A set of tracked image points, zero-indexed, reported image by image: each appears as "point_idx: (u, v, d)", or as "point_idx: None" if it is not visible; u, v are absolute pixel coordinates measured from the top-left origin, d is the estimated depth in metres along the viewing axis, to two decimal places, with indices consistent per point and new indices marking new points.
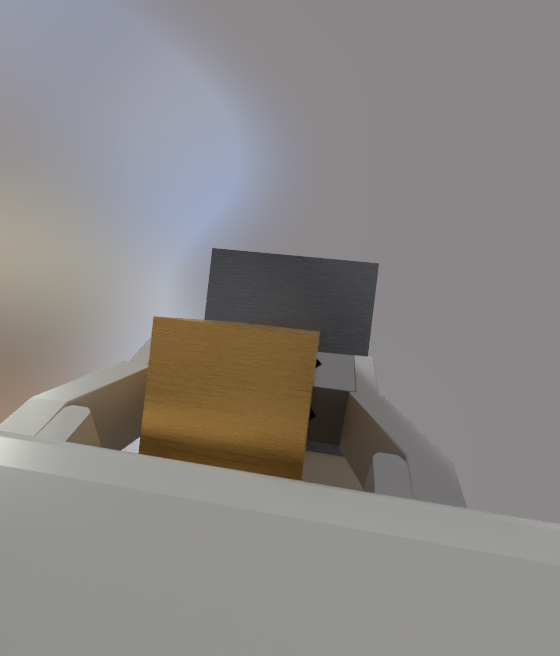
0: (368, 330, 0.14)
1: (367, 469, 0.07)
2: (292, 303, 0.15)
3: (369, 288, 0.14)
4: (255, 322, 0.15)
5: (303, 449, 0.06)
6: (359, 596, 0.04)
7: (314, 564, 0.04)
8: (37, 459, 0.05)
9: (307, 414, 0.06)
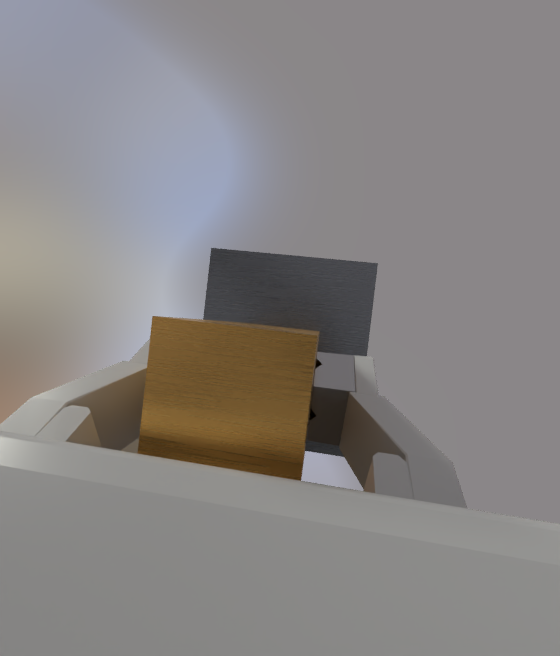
0: (367, 330, 0.14)
1: (367, 469, 0.07)
2: (291, 303, 0.15)
3: (368, 288, 0.14)
4: (254, 322, 0.15)
5: (302, 449, 0.06)
6: (359, 596, 0.04)
7: (314, 564, 0.04)
8: (37, 459, 0.05)
9: (306, 414, 0.06)
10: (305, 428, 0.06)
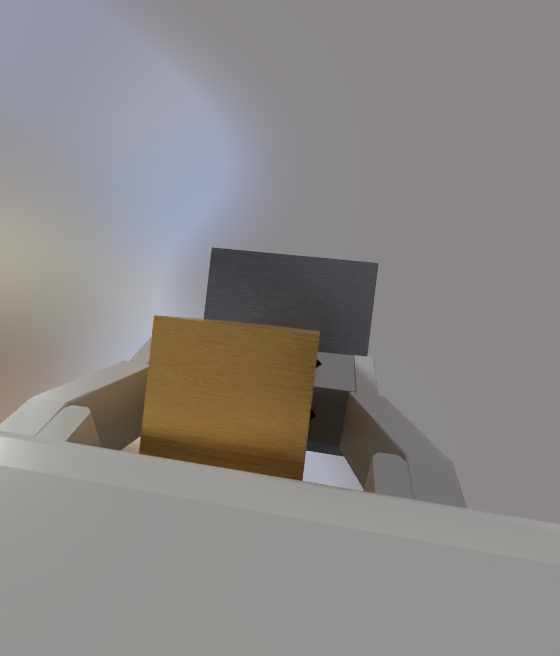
0: (367, 330, 0.14)
1: (367, 469, 0.07)
2: (292, 303, 0.15)
3: (368, 288, 0.14)
4: (254, 322, 0.15)
5: (304, 448, 0.06)
6: (359, 596, 0.04)
7: (314, 564, 0.04)
8: (37, 459, 0.05)
9: (308, 413, 0.06)
10: (307, 427, 0.06)
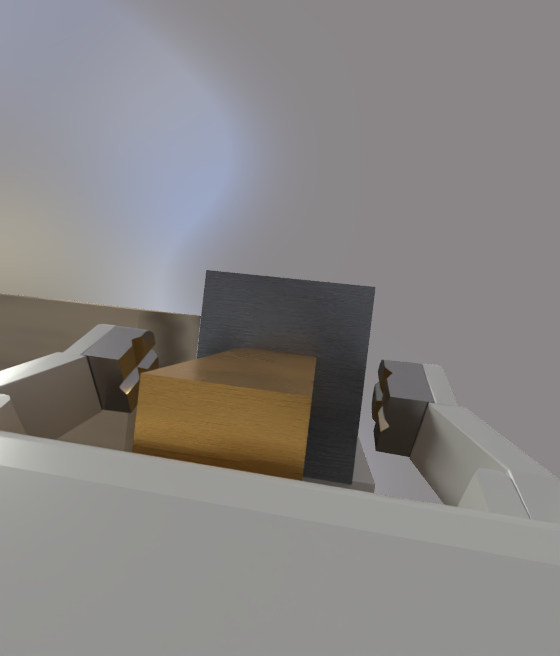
0: (364, 355, 0.14)
1: (450, 482, 0.07)
2: (288, 327, 0.14)
3: (365, 312, 0.14)
4: (250, 346, 0.15)
5: None
6: (359, 596, 0.04)
7: (314, 564, 0.04)
8: (37, 459, 0.05)
9: (300, 478, 0.06)
10: None
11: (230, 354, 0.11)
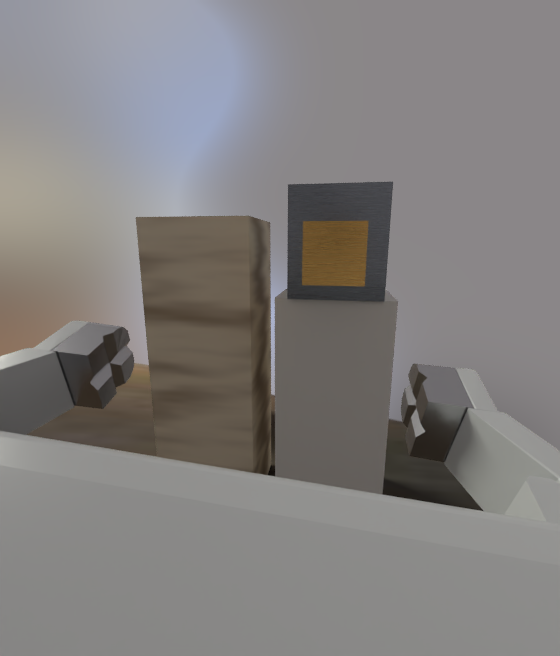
0: (388, 224, 0.24)
1: (491, 489, 0.07)
2: (341, 213, 0.24)
3: (387, 198, 0.23)
4: None
5: (365, 264, 0.16)
6: (359, 596, 0.04)
7: (314, 564, 0.04)
8: (37, 459, 0.05)
9: (366, 251, 0.16)
10: (366, 256, 0.16)
11: None
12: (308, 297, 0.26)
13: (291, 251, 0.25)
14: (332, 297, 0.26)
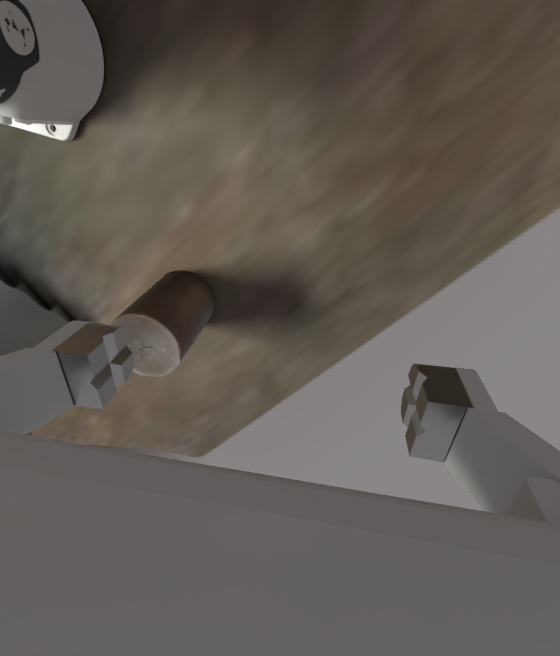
0: None
1: (490, 489, 0.07)
2: None
3: None
4: None
5: None
6: (359, 596, 0.04)
7: (314, 564, 0.04)
8: (37, 459, 0.05)
9: None
10: None
11: None
12: None
13: None
14: None
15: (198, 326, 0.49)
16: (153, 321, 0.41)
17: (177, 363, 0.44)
